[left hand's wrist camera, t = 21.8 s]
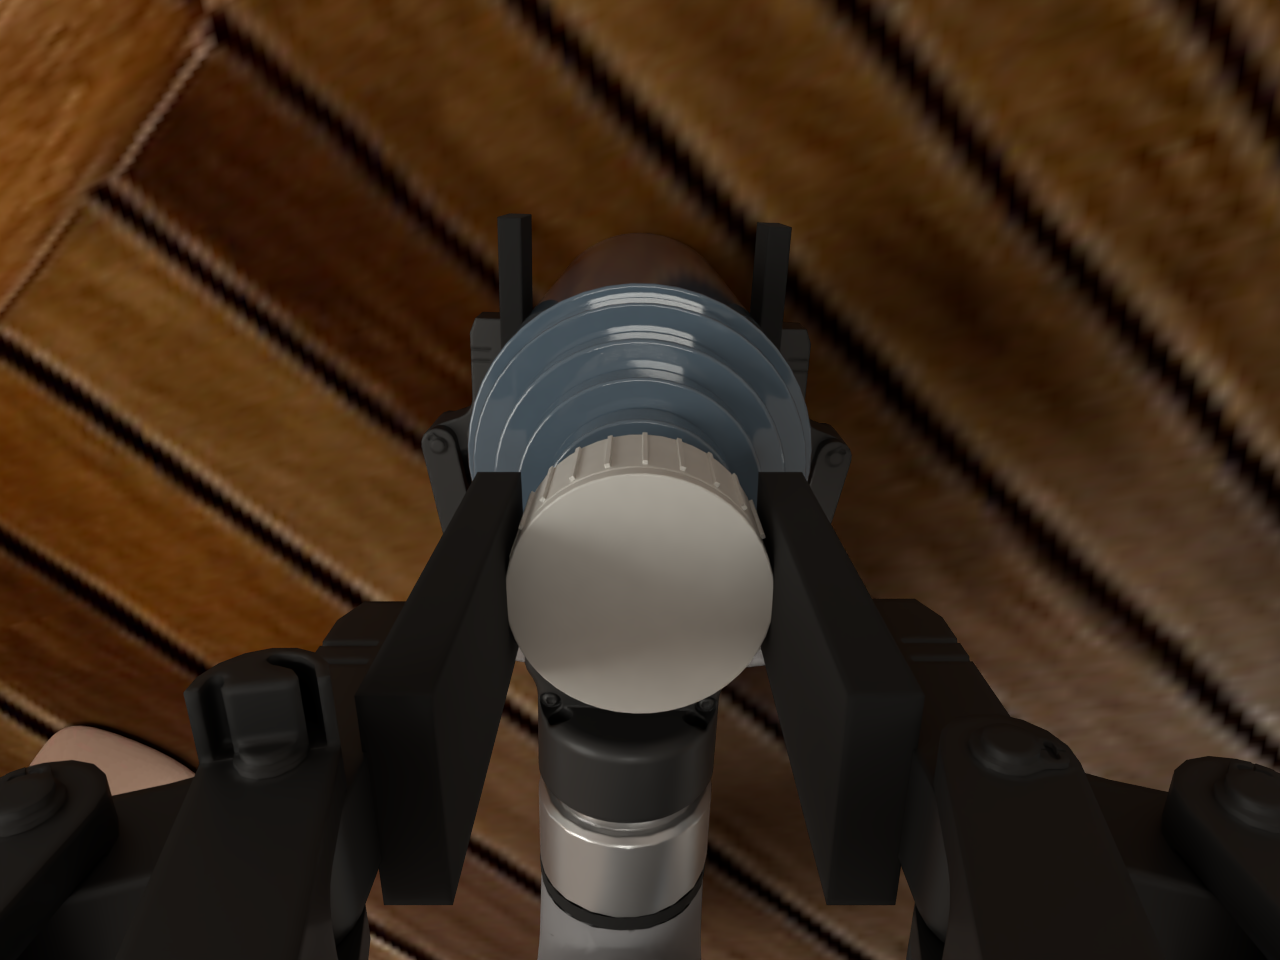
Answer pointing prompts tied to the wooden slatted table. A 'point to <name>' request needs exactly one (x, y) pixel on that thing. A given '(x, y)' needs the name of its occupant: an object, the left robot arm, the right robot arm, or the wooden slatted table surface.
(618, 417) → the bottle
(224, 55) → the wooden slatted table surface
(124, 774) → the anatomical model
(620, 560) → the cap
